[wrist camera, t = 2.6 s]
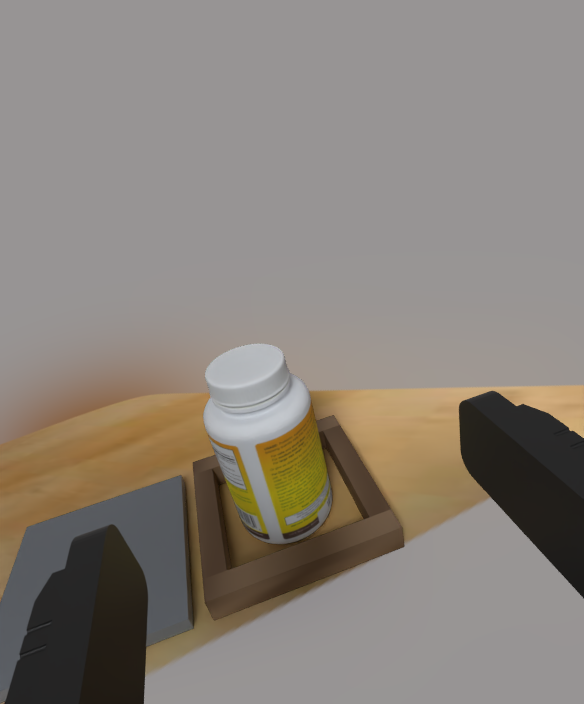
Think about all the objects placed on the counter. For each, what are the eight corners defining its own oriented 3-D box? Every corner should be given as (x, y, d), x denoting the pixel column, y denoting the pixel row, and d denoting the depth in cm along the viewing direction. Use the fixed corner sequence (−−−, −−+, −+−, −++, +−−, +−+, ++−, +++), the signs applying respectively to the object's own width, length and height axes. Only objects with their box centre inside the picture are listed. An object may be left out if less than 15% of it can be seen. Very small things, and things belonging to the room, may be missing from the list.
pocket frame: (213, 620, 21) (204, 602, 20) (199, 478, 30) (192, 462, 29) (404, 546, 22) (402, 527, 21) (336, 431, 31) (333, 415, 30)
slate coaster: (-26, 713, 19) (-36, 704, 19) (32, 535, 28) (27, 526, 28) (193, 628, 21) (188, 618, 20) (184, 483, 29) (181, 475, 29)
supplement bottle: (340, 474, 27) (311, 331, 22) (325, 554, 23) (284, 396, 18) (257, 471, 29) (214, 338, 24) (228, 545, 24) (167, 399, 20)
